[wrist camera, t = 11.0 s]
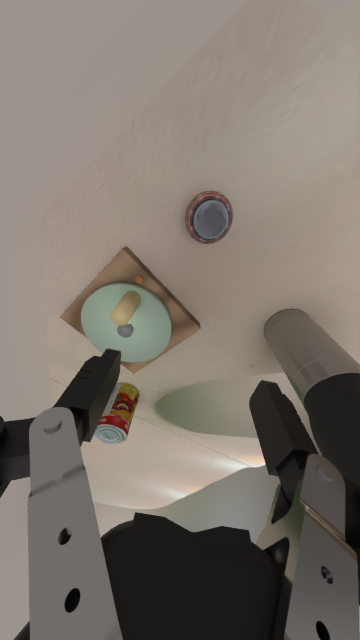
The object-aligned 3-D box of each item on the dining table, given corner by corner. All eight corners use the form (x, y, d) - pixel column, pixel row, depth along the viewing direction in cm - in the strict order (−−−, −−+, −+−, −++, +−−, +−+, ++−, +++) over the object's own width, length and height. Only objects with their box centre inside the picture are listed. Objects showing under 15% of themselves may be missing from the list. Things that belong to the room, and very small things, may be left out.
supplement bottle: (180, 224, 32) (174, 231, 22) (199, 185, 29) (201, 175, 20) (210, 242, 33) (217, 257, 24) (231, 207, 31) (248, 207, 21)
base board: (199, 323, 42) (200, 329, 40) (135, 367, 50) (133, 374, 48) (126, 246, 34) (122, 248, 32) (65, 312, 42) (58, 317, 40)
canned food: (131, 404, 57) (117, 448, 47) (107, 393, 55) (87, 435, 45) (144, 391, 54) (132, 434, 44) (119, 378, 52) (101, 420, 42)
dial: (159, 365, 46) (152, 397, 38) (83, 343, 44) (59, 372, 36) (183, 299, 37) (180, 324, 29) (89, 268, 35) (59, 286, 27)
